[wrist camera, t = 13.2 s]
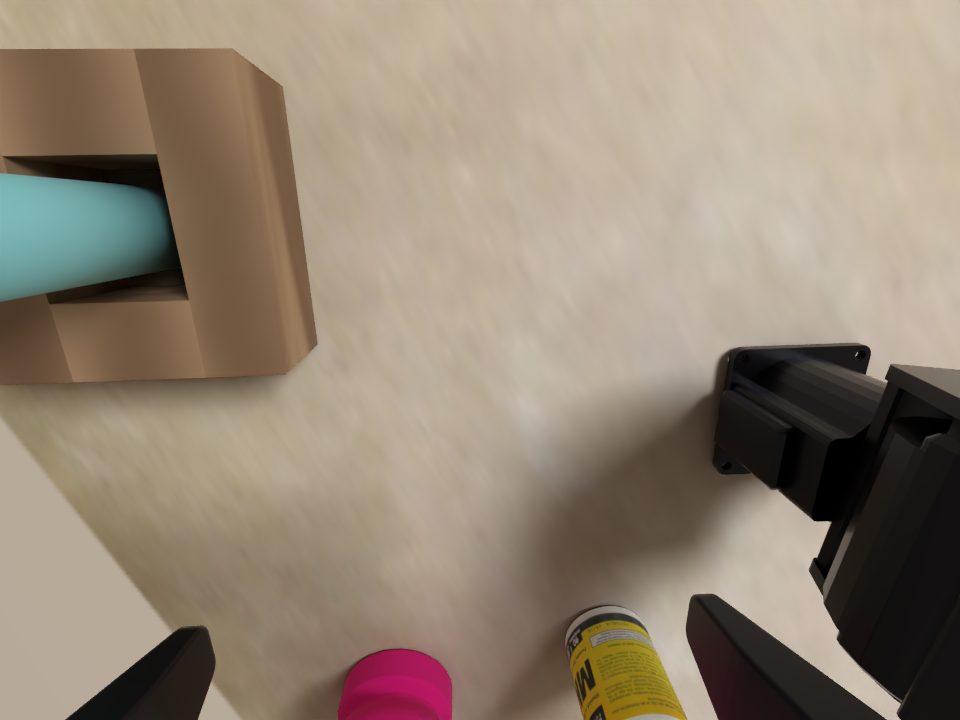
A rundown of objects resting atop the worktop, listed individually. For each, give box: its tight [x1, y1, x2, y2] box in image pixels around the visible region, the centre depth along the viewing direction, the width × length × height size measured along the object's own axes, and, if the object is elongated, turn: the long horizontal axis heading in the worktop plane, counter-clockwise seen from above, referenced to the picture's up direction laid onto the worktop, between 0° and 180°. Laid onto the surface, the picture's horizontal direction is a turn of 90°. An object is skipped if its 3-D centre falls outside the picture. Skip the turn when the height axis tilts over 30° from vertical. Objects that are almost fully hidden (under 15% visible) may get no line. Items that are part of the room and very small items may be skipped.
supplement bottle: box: [565, 606, 687, 720], centre depth 22 cm, size 5×5×8 cm
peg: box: [0, 173, 182, 302], centre depth 12 cm, size 3×3×12 cm
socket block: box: [0, 49, 317, 385], centre depth 16 cm, size 10×10×4 cm
